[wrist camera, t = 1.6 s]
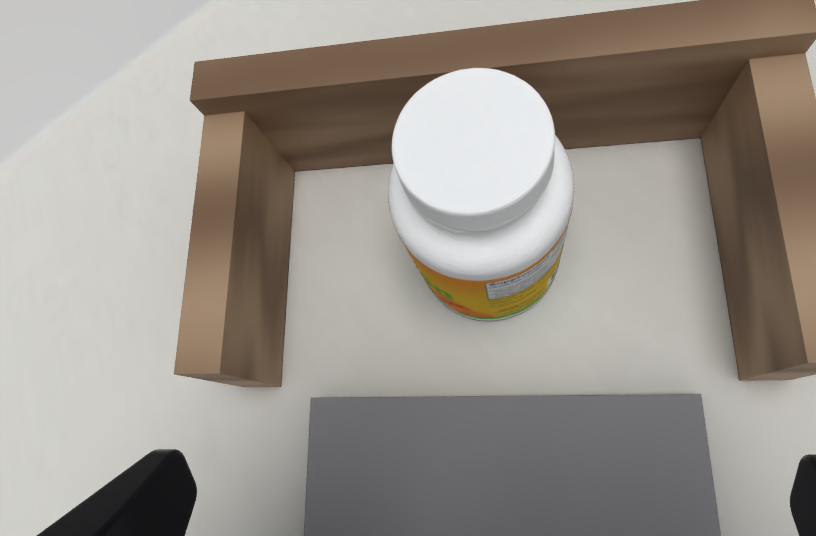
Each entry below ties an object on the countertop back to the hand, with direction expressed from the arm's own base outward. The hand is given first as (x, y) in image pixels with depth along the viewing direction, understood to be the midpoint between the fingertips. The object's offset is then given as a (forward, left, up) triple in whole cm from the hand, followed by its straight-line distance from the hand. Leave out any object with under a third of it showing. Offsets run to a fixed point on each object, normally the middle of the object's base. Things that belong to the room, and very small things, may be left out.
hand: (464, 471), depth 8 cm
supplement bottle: (+7, +3, -13) cm, 15 cm away
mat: (-3, -2, -13) cm, 14 cm away
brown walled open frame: (+7, +3, -13) cm, 15 cm away
